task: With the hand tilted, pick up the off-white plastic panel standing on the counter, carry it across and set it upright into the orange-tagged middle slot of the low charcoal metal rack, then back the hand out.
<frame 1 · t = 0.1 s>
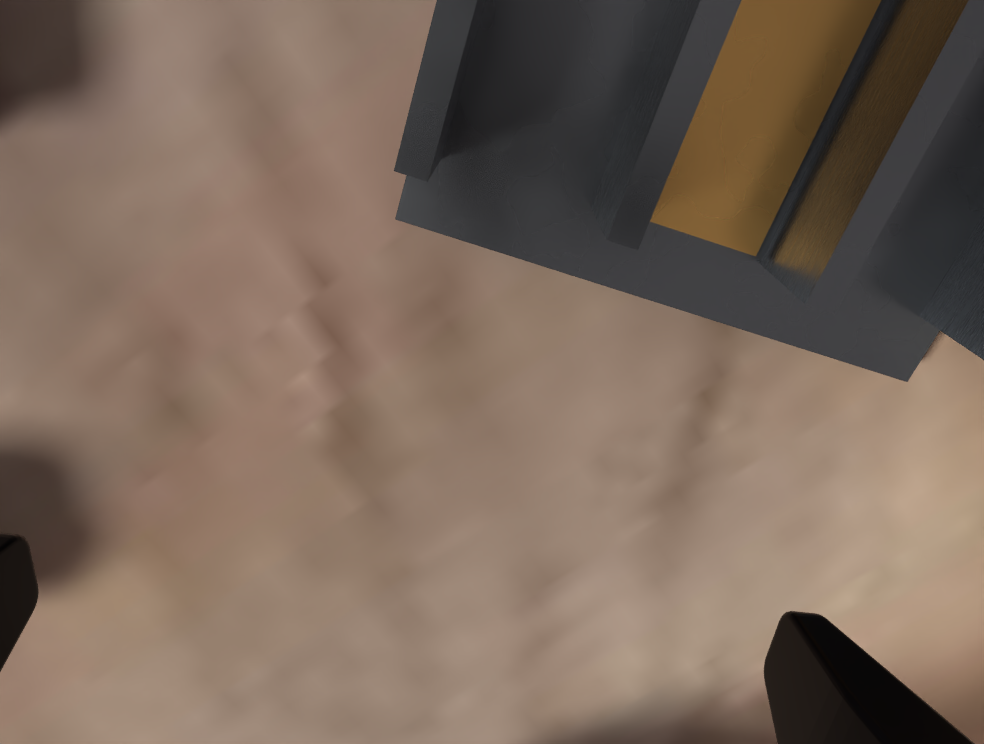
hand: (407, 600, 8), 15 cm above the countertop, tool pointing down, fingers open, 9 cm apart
panel rack: (750, 77, 19), on the countertop
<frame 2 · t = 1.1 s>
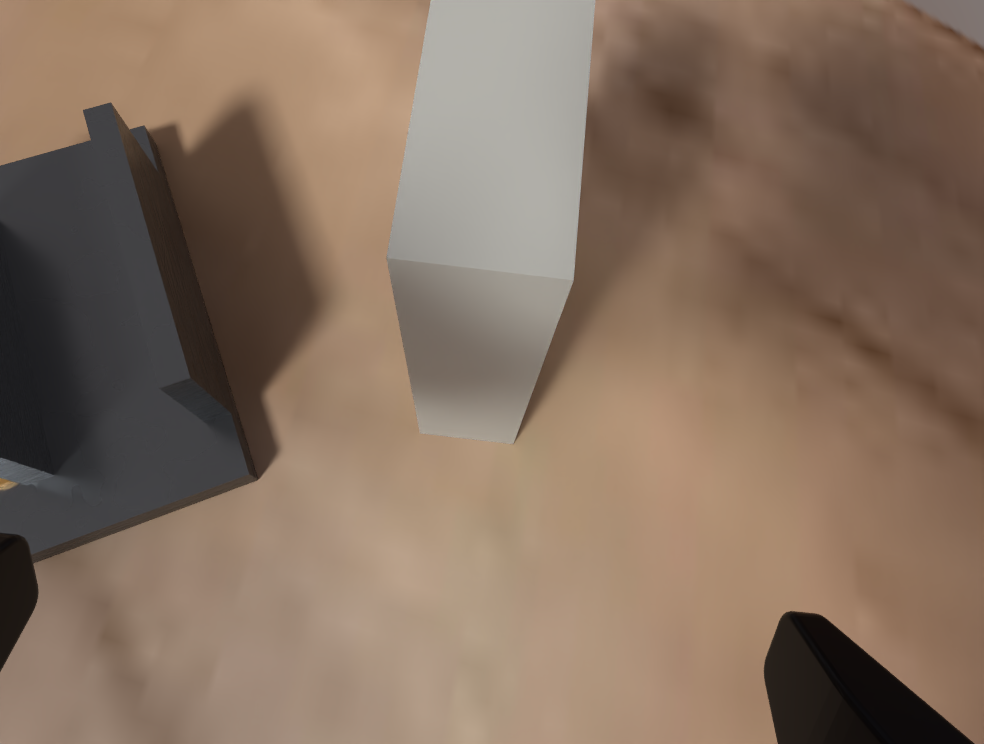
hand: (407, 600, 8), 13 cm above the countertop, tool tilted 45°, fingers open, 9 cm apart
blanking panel: (477, 351, 24), on the countertop
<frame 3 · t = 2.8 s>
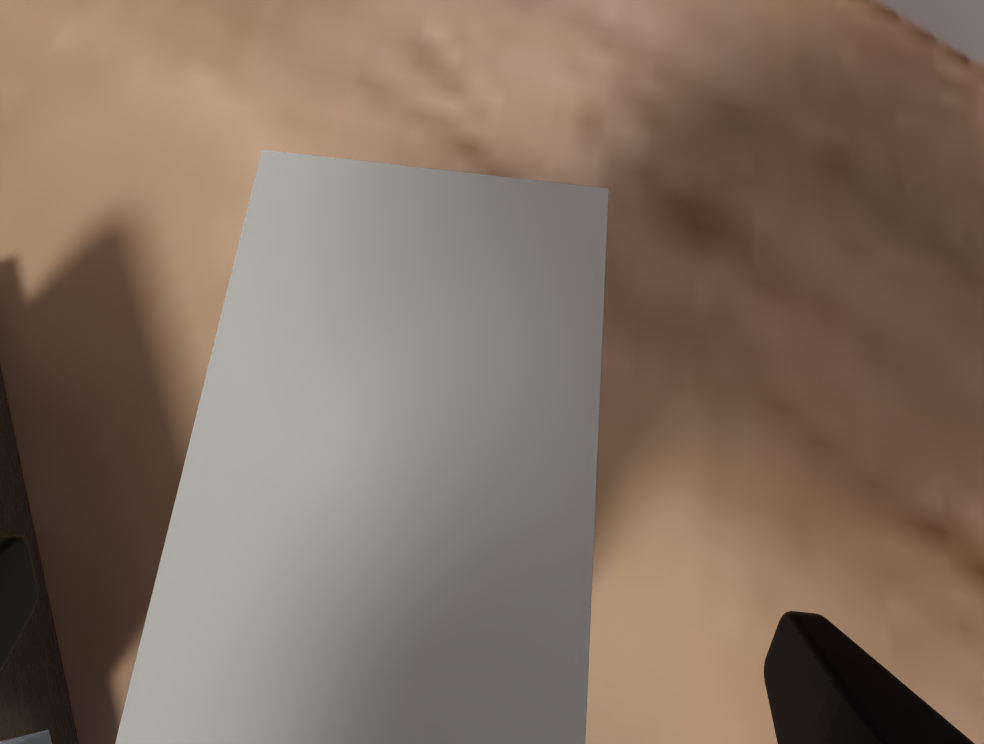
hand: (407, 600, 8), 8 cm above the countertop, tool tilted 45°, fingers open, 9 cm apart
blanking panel: (430, 594, 16), on the countertop
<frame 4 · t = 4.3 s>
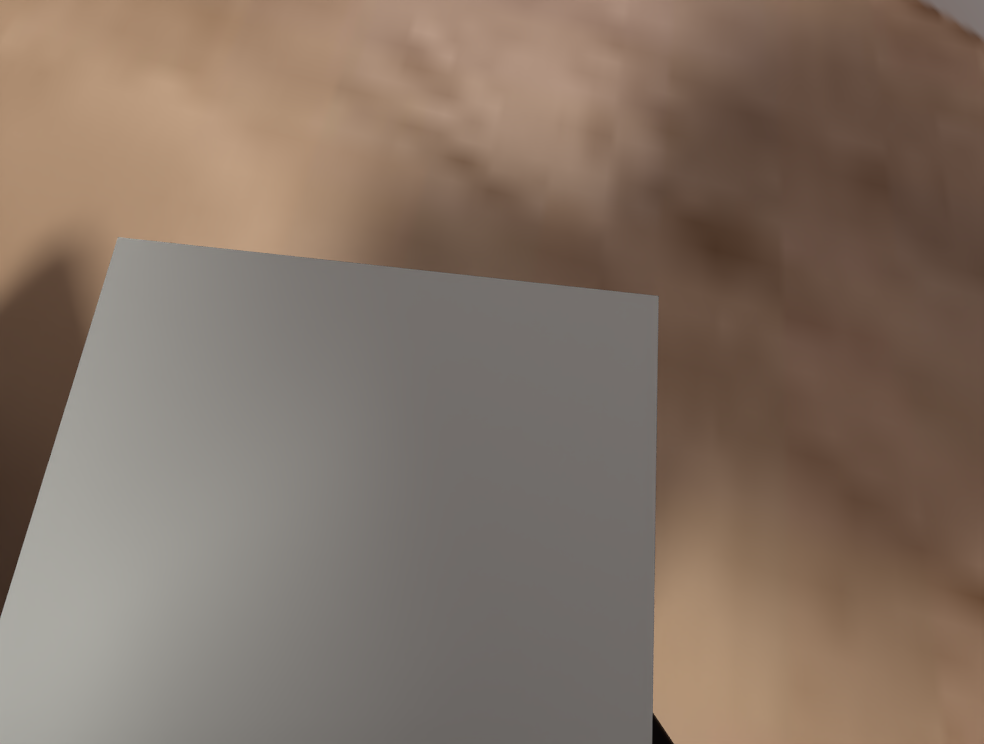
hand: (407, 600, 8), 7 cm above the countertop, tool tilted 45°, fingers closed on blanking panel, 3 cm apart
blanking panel: (417, 682, 14), on the countertop, touching gripper
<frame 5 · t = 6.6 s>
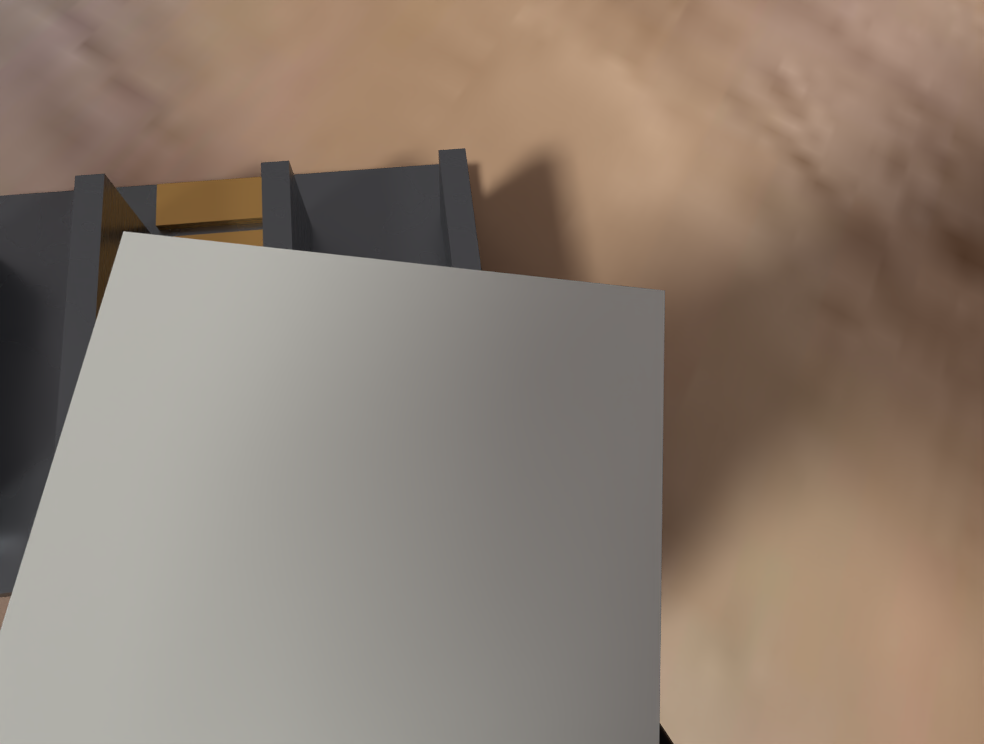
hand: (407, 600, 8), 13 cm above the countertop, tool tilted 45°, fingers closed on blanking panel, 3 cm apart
panel rack: (230, 366, 23), on the countertop
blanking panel: (419, 681, 14), point 7 cm above the countertop, touching gripper
when the fingers open (9 cm above the countertop, at t = 9.3 s): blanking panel drops 1 cm, resting on panel rack.
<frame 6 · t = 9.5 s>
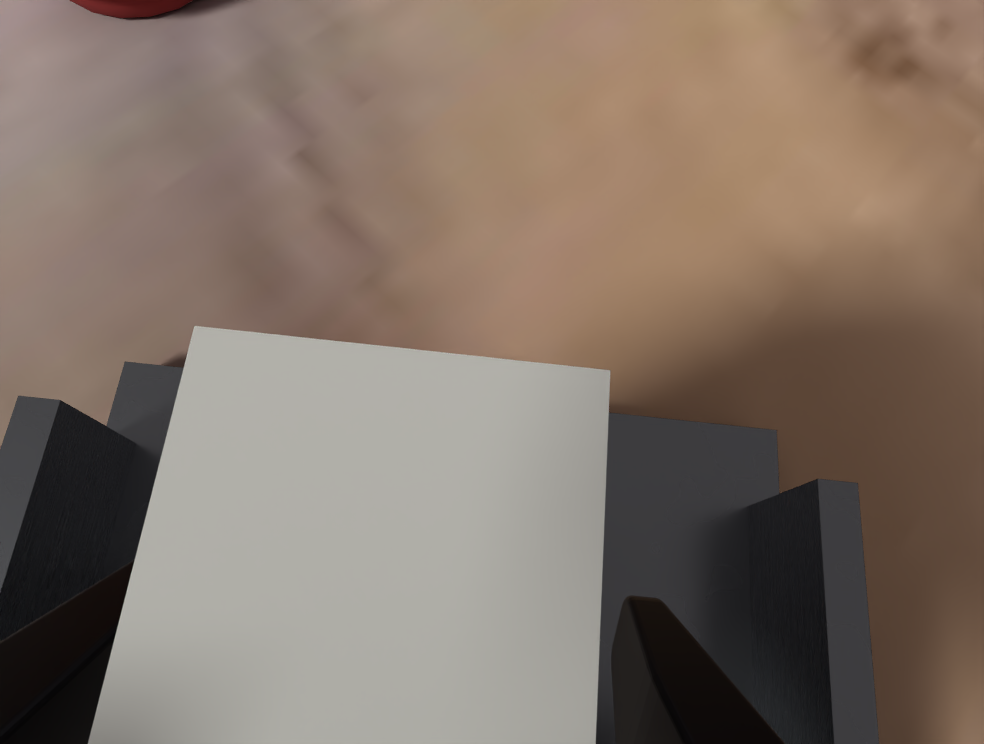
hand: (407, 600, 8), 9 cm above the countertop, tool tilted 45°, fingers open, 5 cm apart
panel rack: (422, 673, 17), on the countertop
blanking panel: (419, 677, 15), point 1 cm above the countertop, touching panel rack
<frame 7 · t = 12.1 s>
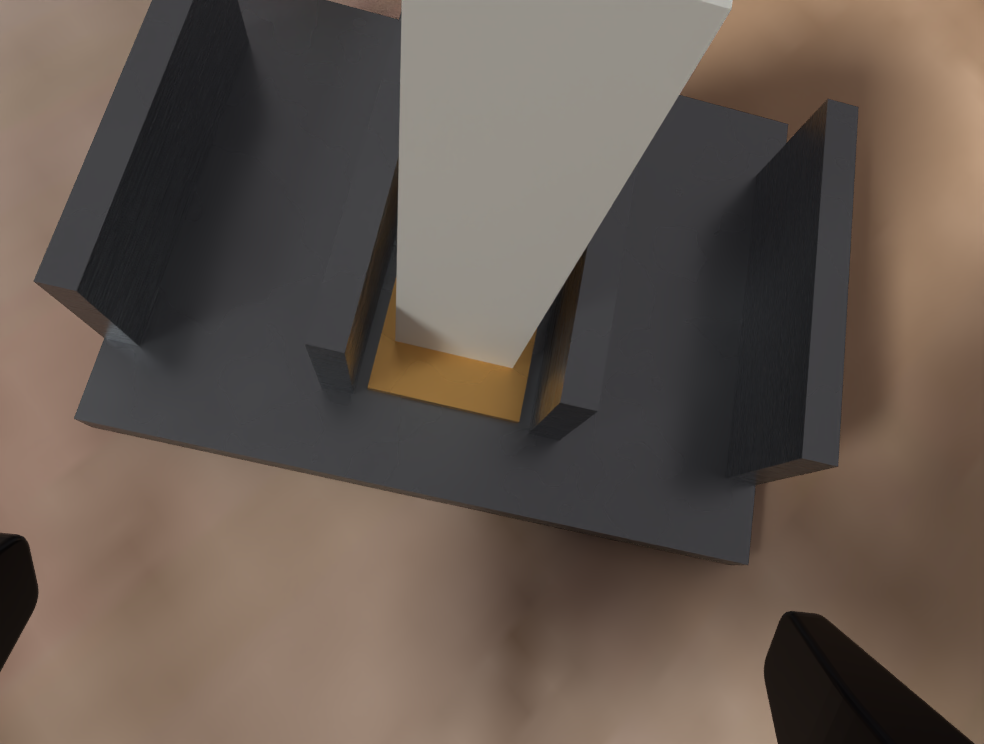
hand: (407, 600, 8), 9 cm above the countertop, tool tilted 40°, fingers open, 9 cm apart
panel rack: (474, 267, 20), on the countertop
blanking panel: (478, 248, 19), point 1 cm above the countertop, touching panel rack
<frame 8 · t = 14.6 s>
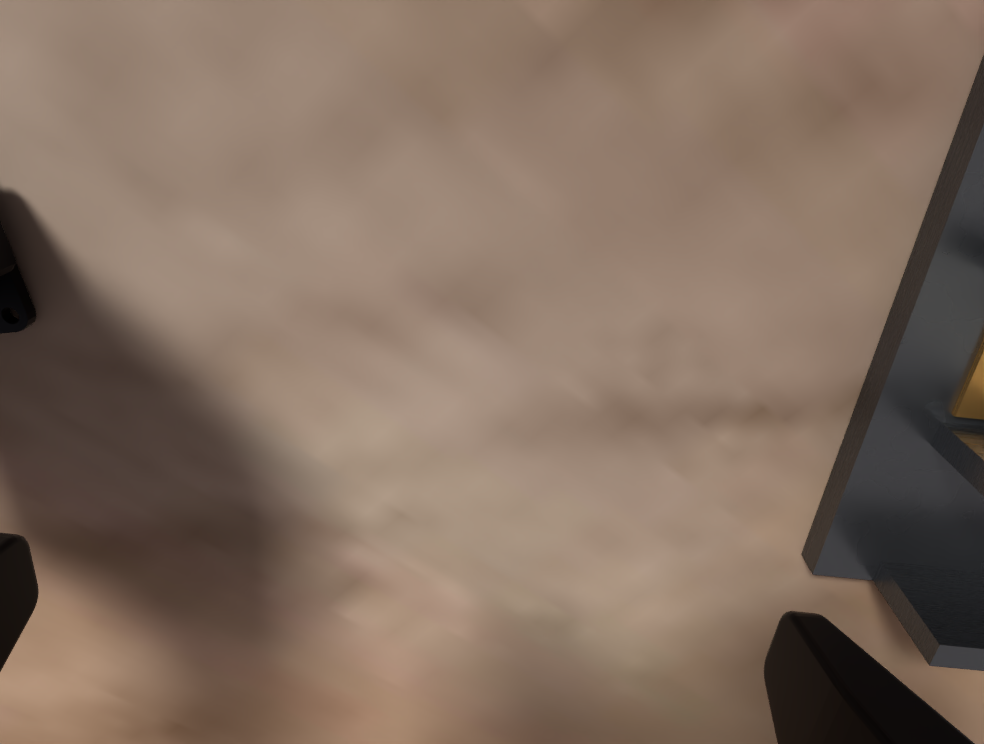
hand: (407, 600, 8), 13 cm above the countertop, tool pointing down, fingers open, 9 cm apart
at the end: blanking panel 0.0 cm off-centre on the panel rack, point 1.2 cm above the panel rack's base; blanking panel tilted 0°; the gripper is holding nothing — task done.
